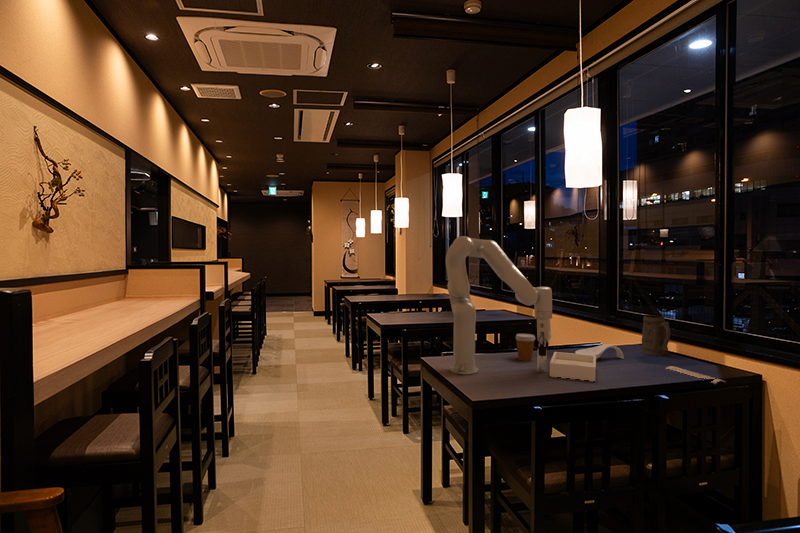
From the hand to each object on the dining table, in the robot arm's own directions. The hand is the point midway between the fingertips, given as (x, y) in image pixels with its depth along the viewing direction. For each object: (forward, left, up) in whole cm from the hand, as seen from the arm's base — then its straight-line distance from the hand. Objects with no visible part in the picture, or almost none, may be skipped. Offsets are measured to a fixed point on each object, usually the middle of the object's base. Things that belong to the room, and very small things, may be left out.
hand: (543, 353), depth 205 cm
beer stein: (+57, -50, -9) cm, 76 cm away
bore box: (+4, -12, -8) cm, 15 cm away
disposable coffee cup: (+19, +11, -9) cm, 23 cm away
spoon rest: (+35, -23, -9) cm, 43 cm away
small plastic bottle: (0, +1, -8) cm, 8 cm away
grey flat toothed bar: (+21, -61, -9) cm, 65 cm away
